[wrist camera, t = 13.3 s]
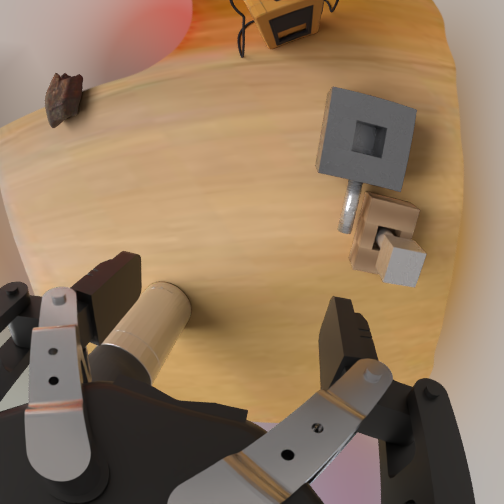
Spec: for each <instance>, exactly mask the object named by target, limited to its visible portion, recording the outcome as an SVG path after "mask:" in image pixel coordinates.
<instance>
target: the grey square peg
mask: <svg viewBox="0 0 504 504" xmlns="http://www.w3.org/2000/svg"><path fill="white" fill-rule="evenodd" d="M375 240H376V242H377V243H378V245H379V247H380V251H379V255H378V258H377V262H376V265H375V267H376V269H377V271H378V273H379V275H380V277H381V279H382V281H383V282H385V283H391V284H397V285H403V286H409V287H415V286H416V283H417V280H418V278H419V275H420V272H421V269H422V266H423V263H424V260H425V257H426V253H425V251H424V250H423V249H422V248H421V247H420V246H419V245H418V244H417V243H416V241H415V240H410V239H405V238H401V237H396V236H394V235H393V234H392V233H391V231H390V230H389V229H388V228H387V227H383V226H378V229H377V233H376V237H375Z"/></svg>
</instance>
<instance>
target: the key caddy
mask: <svg viewBox="0 0 504 504" xmlns="http://www.w3.org/2000/svg"><path fill="white" fill-rule="evenodd" d="M419 212H420V210H419V209H418V208H417V207H415V206H414V205H413V204H411V203H409V202H406V201H402V200H398V199H394V198H390V197H386V196H382V195H378V194H374V193H370V192H365V196H364V201H363V205H362V209H361V213H360V217H359V221H358V225H357V229H356V233H355V236H354V240H353V244H352V248H351V251H350V255H349V260H350V263H351V266H352V269H353V270H359V271H364V272H369V273H374V274H379V273H378V271H377V269H376V267H375V265H376V262H377V258H378V255H379V251H380V247H379V245H378V243H377V242H376V240H375V237H376V233H377V229H378V226H383V227H387V228H388V229H389V230H390V231H391V233H392V234H393V235H394V236H396V237H401V238H405V239H410V240H411V239H412V236H413V233H414V230H415V226H416V223H417V219H418V216H419Z"/></svg>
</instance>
